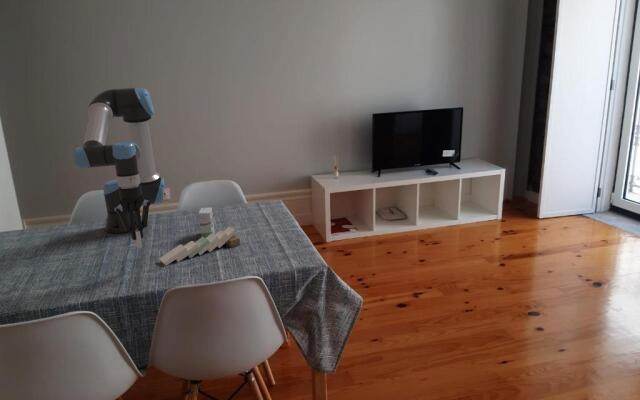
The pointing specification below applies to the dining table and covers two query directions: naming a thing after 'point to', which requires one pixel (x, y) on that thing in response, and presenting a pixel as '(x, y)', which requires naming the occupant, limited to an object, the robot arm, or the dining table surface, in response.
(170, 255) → the domino
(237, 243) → the end block
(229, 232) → the domino
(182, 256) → the domino
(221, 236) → the domino
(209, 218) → the ink box
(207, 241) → the domino
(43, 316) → the dining table surface
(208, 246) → the domino
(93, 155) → the robot arm
